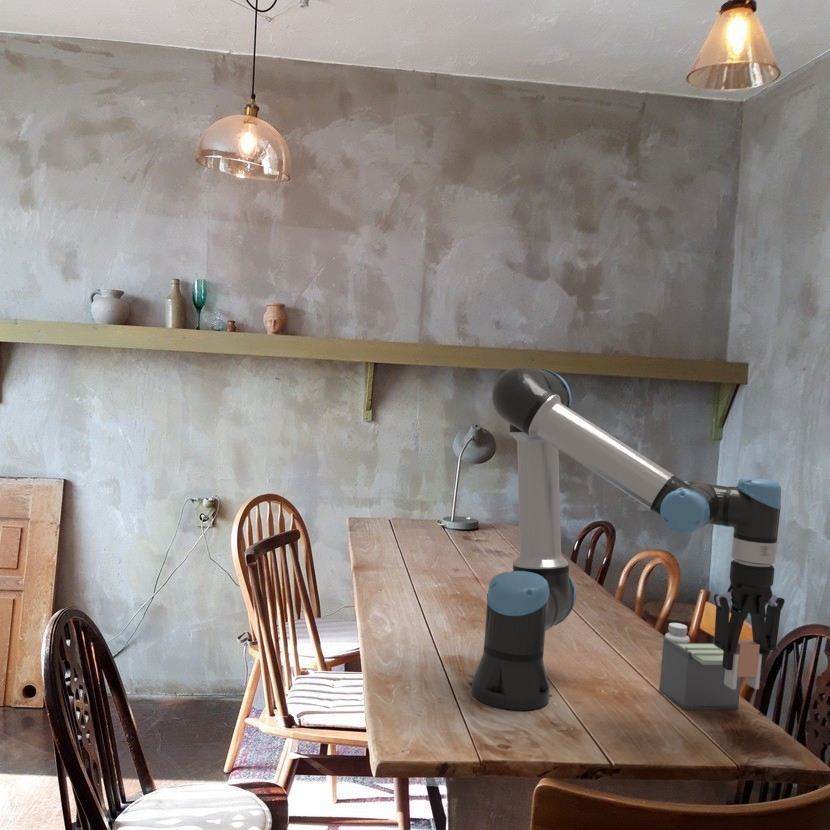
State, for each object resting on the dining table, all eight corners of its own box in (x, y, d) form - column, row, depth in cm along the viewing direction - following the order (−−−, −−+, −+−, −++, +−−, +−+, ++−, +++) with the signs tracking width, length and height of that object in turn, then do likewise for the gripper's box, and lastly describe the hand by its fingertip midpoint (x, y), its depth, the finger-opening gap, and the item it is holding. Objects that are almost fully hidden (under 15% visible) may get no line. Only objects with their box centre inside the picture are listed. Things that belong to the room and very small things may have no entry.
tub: (683, 709, 161) (688, 652, 161) (659, 690, 171) (663, 637, 170) (738, 708, 164) (743, 653, 164) (711, 690, 173) (716, 637, 173)
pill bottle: (658, 663, 188) (662, 621, 188) (681, 664, 189) (684, 622, 189) (667, 671, 183) (671, 628, 183) (691, 672, 184) (694, 629, 183)
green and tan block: (722, 676, 151) (725, 644, 151) (677, 648, 167) (680, 618, 166) (771, 676, 153) (774, 644, 153) (722, 648, 169) (725, 619, 169)
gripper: (723, 565, 147) (711, 694, 148) (806, 568, 151) (794, 693, 152) (700, 556, 155) (688, 679, 156) (780, 558, 158) (768, 678, 159)
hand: (741, 686), depth 154 cm, fingers closed on green and tan block, 4 cm apart
